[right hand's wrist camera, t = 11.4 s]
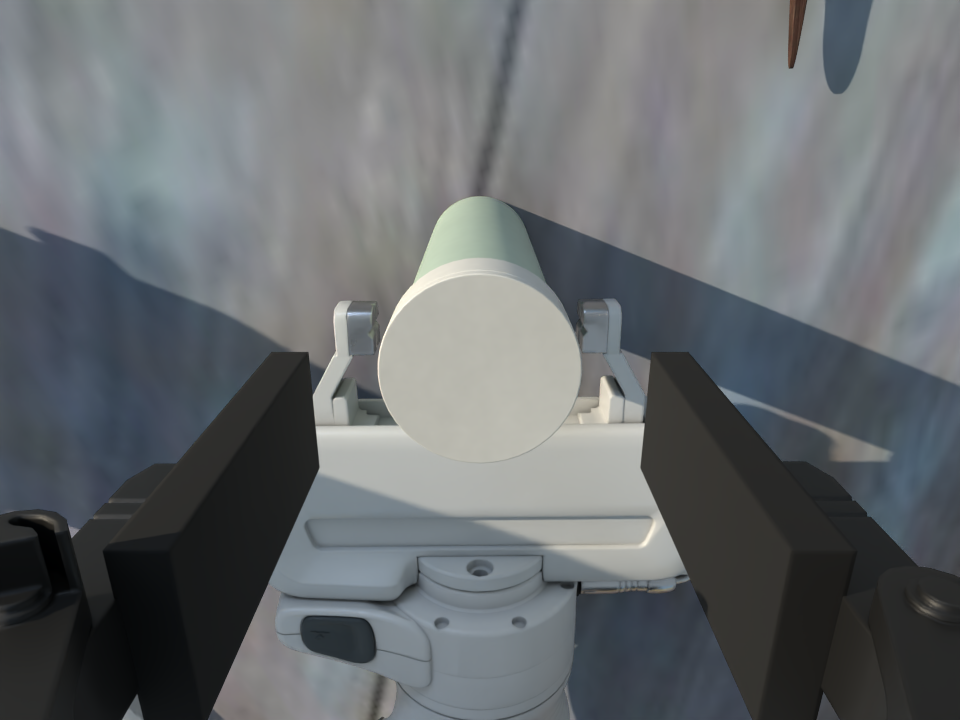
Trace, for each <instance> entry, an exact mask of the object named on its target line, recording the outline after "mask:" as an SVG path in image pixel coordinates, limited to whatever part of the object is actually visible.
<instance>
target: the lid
mask: <svg viewBox="0 0 960 720" xmlns="http://www.w3.org/2000/svg"><path fill="white" fill-rule="evenodd" d="M378 379H379V385H380V390H381V393H382V396H383V400H384V402H385V404H386V406H387V408H388V411H389V412H390V414H391V415H392V417H393V419H394V420H395V422H396V423H397V424H398V425H399V426H400V428H401V429H402V430H403V431H404V432H405V433H406V434H407V435H408V436H409V437H410V438H411V439H412V440H414V441H415V442H417V443H418V444H419V445H421V446H422V447H424V448H426V449H427V450H429V451H431V452H433V453H435V454H437V455H440V456H442V457H445V458H448V459H452V460H456V461H461V462H467V463H493V462H499V461H504V460H508V459H512V458H515V457H518V456H520V455H523V454H525V453H527V452H529V451H531V450H533V449H534V448H536V447H538V446H539V445H541V444H542V443H544V442H545V441H546V440H547V439H549V438H550V437H551V436H552V435H553V434H554V433H555V432H556V431H557V430H558V429H559V428H560V427H561V425H562V424H563V423H564V421H565V420H566V419H567V417H568V416H569V414H570V412H571V410H572V409H573V407H574V404H575V402H576V399H577V397H578V393H579V390H580V386H581V379H582V357H581V351H580V346H579V343H578V340H577V337H576V334H575V332H574V329H573V327H572V324H571V322H570V320H569V317H568V315H567V313H566V311H565V309H564V307H563V305H562V303H561V301H560V300H559V298H558V297H557V295H556V294H555V293H554V292H553V291H552V289H551V288H550V287H549V286H548V285H547V284H546V283H545V282H544V281H542V280H541V279H540V278H539V277H538V276H536V275H535V274H533V273H532V272H530V271H528V270H527V269H525V268H522V267H520V266H518V265H516V264H513V263H510V262H507V261H504V260H498V259H492V258H468V259H462V260H457V261H453V262H450V263H447V264H444V265H442V266H439V267H438V268H436V269H434V270H432V271H430V272H428V273H427V274H425V275H424V276H423V277H421V278H420V279H419V280H418V281H416V282H415V283H414V284H413V285H412V286H411V287H410V288H409V289H408V291H407V292H406V293H405V294H404V295H403V297H402V298H401V300H400V302H399V303H398V305H397V306H396V309H395V311H394V313H393V315H392V318H391V320H390V322H389V325H388V327H387V330H386V332H385V334H384V337H383V340H382V343H381V347H380V350H379V358H378Z"/></svg>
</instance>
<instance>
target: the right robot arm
mask: <svg viewBox="0 0 960 720" xmlns="http://www.w3.org/2000/svg"><path fill="white" fill-rule="evenodd" d="M319 468H320V465H319V455H318V445H317V435H316V425H315V415H314V404H313V394H312V384H311V374H310V364H309V354H308V352H271V354H270V355H269V356H268V357H267V358H266V359H265V361H264V362H263V363H262V364H261V365H260V366H259V368H258V369H257V370H256V371H255V372H254V374H253V375H252V376H251V377H250V378H249V379H248V381H247V382H246V383H245V384H244V385H243V386H242V388H241V389H240V390H239V391H238V392H237V393H236V395H235V396H234V397H233V398H232V399H231V400H230V402H229V403H228V404H227V405H226V406H225V408H224V409H223V410H222V411H221V412H220V413H219V415H218V416H217V417H216V418H215V419H214V420H213V422H212V423H211V424H210V425H209V426H208V427H207V429H206V430H205V431H204V432H203V433H202V434H201V436H200V437H199V438H198V439H197V440H196V442H195V443H194V444H193V445H192V446H191V447H190V449H189V450H188V451H187V452H186V453H185V454H184V456H183V457H182V458H181V459H180V460H179V461H178V463H177V464H154V465H152V466H150V467H149V468H147V469H145V470H143V471H142V472H140V473H138V474H137V475H135V476H133V477H132V478H130V479H128V480H127V481H126V482H125V483H124V484H123V485H122V486H121V487H120V488H119V489H118V490H117V491H116V492H115V493H114V494H113V495H112V497H111V498H110V499H109V503H105V504H104V505H103V506H102V507H101V508H100V509H99V510H98V511H97V512H96V513H95V514H94V518H93V519H90V520H89V521H88V522H87V523H86V524H85V525H84V526H83V527H82V528H81V529H80V530H79V531H78V532H77V533H76V534H75V536H74V537H73V538H72V539H71V535H70V531H69V528H68V524H67V520H66V519H65V518H64V517H62V516H61V515H59V514H58V513H56V512H52V511H45V510H38V509H37V510H25V511H14V512H10V513H6V514H2V515H0V720H122V719H123V717H124V716H125V714H126V712H127V710H128V709H129V707H130V705H131V704H132V702H133V700H134V699H135V697H136V695H138V699H139V703H140V707H141V711H142V715H143V719H144V720H208V718H209V715H210V713H211V711H212V709H213V706H214V704H215V702H216V700H217V697H218V695H219V693H220V691H221V688H222V686H223V684H224V682H225V679H226V677H227V675H228V673H229V670H230V668H231V666H232V664H233V661H234V659H235V657H236V655H237V652H238V650H239V648H240V646H241V643H242V641H243V639H244V637H245V634H246V632H247V630H248V628H249V625H250V623H251V621H252V619H253V616H254V614H255V612H256V610H257V608H258V605H259V603H260V601H261V599H262V596H263V594H264V592H265V590H266V587H267V585H268V583H269V581H270V578H271V576H272V574H273V572H274V569H275V567H276V565H277V563H278V560H279V558H280V556H281V554H282V551H283V549H284V547H285V545H286V542H287V540H288V538H289V536H290V533H291V531H292V529H293V527H294V524H295V522H296V520H297V518H298V515H299V513H300V511H301V509H302V506H303V504H304V502H305V500H306V498H307V495H308V493H309V491H310V489H311V486H312V484H313V482H314V480H315V477H316V475H317V473H318V471H319ZM640 468H641V471H642V473H643V475H644V477H645V480H646V482H647V484H648V486H649V489H650V491H651V493H652V495H653V498H654V500H655V502H656V504H657V506H658V509H659V511H660V513H661V515H662V518H663V520H664V522H665V524H666V527H667V529H668V531H669V533H670V536H671V538H672V540H673V542H674V545H675V547H676V549H677V551H678V554H679V556H680V558H681V560H682V563H683V565H684V567H685V569H686V572H687V574H688V576H689V578H690V581H691V583H692V585H693V587H694V590H695V592H696V594H697V596H698V599H699V601H700V603H701V605H702V608H703V610H704V612H705V614H706V616H707V619H708V621H709V623H710V625H711V628H712V630H713V632H714V634H715V637H716V639H717V641H718V643H719V646H720V648H721V650H722V652H723V655H724V657H725V659H726V661H727V664H728V666H729V668H730V670H731V673H732V675H733V677H734V679H735V682H736V684H737V686H738V688H739V691H740V693H741V695H742V697H743V700H744V702H745V704H746V706H747V709H748V711H749V713H750V715H751V718H752V720H816V719H817V715H818V711H819V707H820V703H821V699H822V695H823V692H824V693H825V695H826V697H827V698H828V700H829V702H830V703H831V705H832V707H833V709H834V710H835V712H836V714H837V715H838V717H839V719H840V720H960V578H959V577H957V576H955V575H952V574H949V573H945V572H942V571H938V570H935V569H932V568H926V567H918V566H917V565H916V564H915V563H914V562H913V561H912V560H911V558H910V557H909V556H908V555H907V554H906V553H905V552H904V551H903V550H902V549H901V548H900V547H899V546H898V545H897V544H896V543H895V542H894V541H893V540H892V539H891V538H890V537H889V535H888V534H887V533H886V532H885V531H884V530H883V529H882V528H881V527H880V526H879V525H878V524H877V523H876V522H875V521H874V520H873V519H872V518H871V517H867V512H866V511H865V510H864V509H863V508H862V507H861V506H860V505H859V504H858V503H857V502H856V501H852V497H851V496H850V495H849V494H848V493H847V492H846V490H845V489H844V488H843V487H842V486H841V485H840V484H839V483H838V482H837V481H836V480H835V479H834V478H833V477H831V476H829V475H828V474H826V473H824V472H823V471H821V470H819V469H817V468H816V467H814V466H812V465H810V464H809V463H807V462H782V461H781V460H780V459H779V458H778V457H777V456H776V454H775V453H774V452H773V451H772V450H771V449H770V447H769V446H768V445H767V444H766V443H765V442H764V440H763V439H762V438H761V437H760V436H759V434H758V433H757V432H756V431H755V430H754V429H753V427H752V426H751V425H750V424H749V423H748V422H747V420H746V419H745V418H744V417H743V416H742V415H741V413H740V412H739V411H738V410H737V409H736V408H735V406H734V405H733V404H732V403H731V402H730V400H729V399H728V398H727V397H726V396H725V395H724V393H723V392H722V391H721V390H720V389H719V388H718V386H717V385H716V384H715V383H714V382H713V381H712V379H711V378H710V377H709V376H708V375H707V374H706V372H705V371H704V370H703V369H702V368H701V366H700V365H699V364H698V363H697V362H696V361H695V359H694V358H693V357H692V356H691V355H690V354H689V352H652V354H651V364H650V374H649V384H648V394H647V404H646V415H645V425H644V435H643V445H642V455H641V465H640Z"/></svg>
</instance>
